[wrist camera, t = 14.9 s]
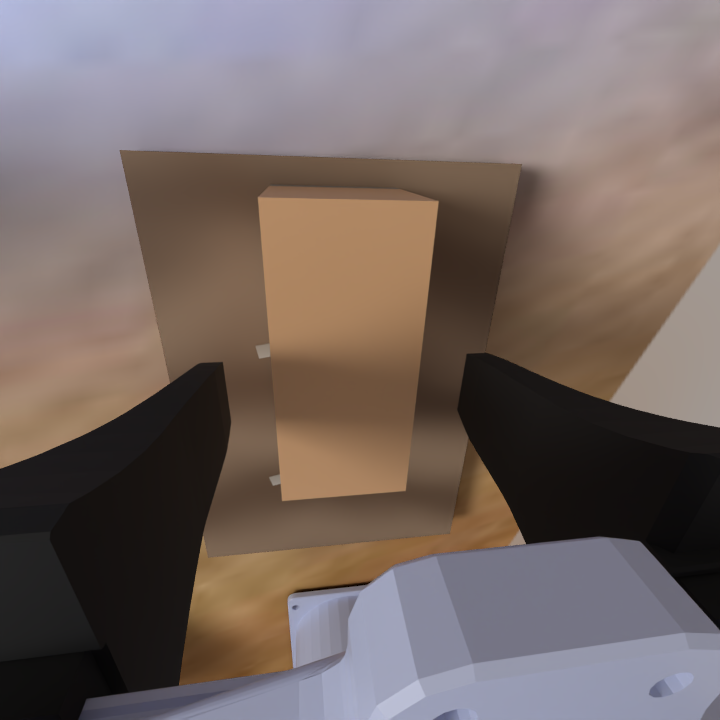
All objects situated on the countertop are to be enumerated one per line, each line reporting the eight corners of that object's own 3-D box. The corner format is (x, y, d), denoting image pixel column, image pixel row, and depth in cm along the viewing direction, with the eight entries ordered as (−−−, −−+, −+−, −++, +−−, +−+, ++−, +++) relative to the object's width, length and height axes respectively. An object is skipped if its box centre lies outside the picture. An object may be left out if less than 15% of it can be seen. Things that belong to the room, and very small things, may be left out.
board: (441, 513, 25) (450, 534, 24) (213, 534, 23) (208, 558, 22) (503, 163, 16) (522, 164, 15) (136, 150, 14) (119, 150, 13)
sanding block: (380, 413, 19) (405, 491, 15) (286, 418, 18) (281, 501, 14) (395, 187, 14) (438, 201, 10) (270, 184, 14) (258, 197, 9)
